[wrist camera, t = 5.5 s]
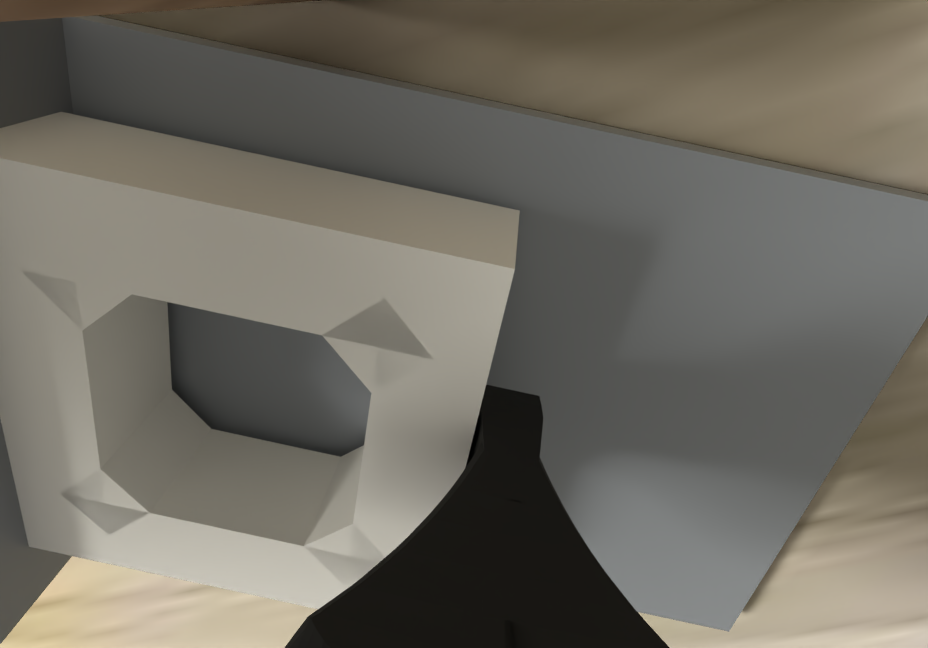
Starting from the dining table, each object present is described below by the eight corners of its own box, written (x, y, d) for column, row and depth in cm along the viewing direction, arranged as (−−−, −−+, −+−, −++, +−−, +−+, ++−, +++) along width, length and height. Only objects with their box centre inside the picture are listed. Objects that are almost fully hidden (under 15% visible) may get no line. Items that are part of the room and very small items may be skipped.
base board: (722, 610, 16) (781, 812, 12) (74, 470, 16) (-76, 627, 12) (968, 203, 11) (1217, 331, 7) (-1, -5, 11) (-309, 3, 7)
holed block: (441, 534, 15) (424, 631, 12) (104, 462, 15) (28, 546, 12) (519, 210, 11) (514, 269, 9) (61, 111, 11) (-61, 145, 9)
